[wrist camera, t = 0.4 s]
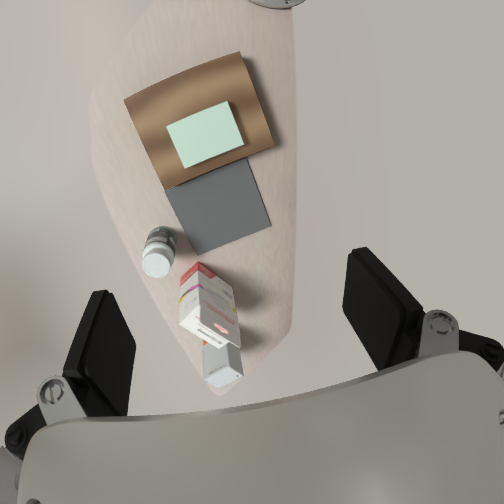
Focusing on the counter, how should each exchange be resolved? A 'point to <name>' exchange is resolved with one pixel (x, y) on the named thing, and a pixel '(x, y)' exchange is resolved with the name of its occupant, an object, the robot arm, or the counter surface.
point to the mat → (219, 206)
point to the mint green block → (205, 134)
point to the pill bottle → (159, 252)
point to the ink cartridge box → (208, 307)
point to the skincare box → (221, 364)
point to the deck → (193, 101)
